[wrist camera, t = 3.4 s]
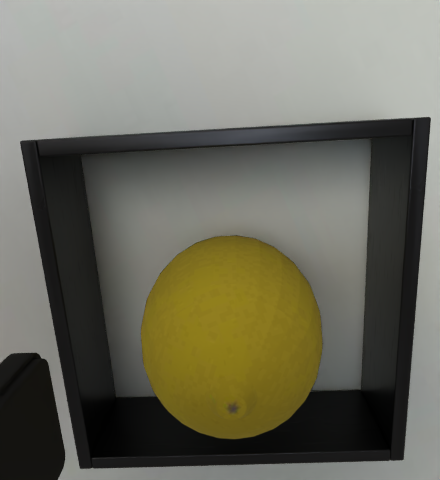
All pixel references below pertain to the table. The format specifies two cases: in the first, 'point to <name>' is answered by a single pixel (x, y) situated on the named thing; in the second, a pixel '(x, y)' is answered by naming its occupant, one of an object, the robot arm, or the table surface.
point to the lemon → (231, 337)
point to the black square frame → (317, 403)
